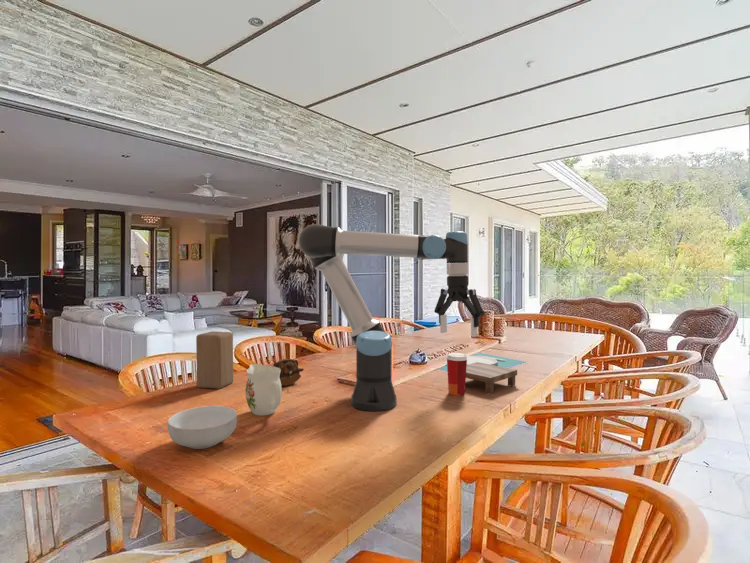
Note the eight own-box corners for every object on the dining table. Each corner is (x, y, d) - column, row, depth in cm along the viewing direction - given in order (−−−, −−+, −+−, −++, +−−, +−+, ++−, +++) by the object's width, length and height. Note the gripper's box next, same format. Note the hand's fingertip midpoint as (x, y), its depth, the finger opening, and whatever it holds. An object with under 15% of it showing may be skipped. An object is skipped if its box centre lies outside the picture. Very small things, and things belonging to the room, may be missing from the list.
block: (195, 388, 163) (195, 334, 163) (211, 381, 173) (211, 330, 172) (219, 389, 161) (218, 335, 160) (234, 382, 171) (233, 331, 170)
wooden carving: (272, 391, 159) (272, 364, 159) (264, 389, 162) (264, 362, 162) (305, 381, 172) (305, 356, 172) (297, 380, 175) (297, 355, 175)
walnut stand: (490, 394, 156) (490, 377, 156) (450, 384, 169) (450, 368, 169) (517, 385, 168) (517, 369, 168) (477, 376, 181) (477, 362, 181)
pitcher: (262, 425, 126) (262, 377, 125) (236, 409, 139) (236, 366, 139) (295, 416, 133) (295, 371, 132) (268, 402, 147) (267, 361, 146)
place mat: (469, 379, 180) (470, 373, 180) (418, 365, 204) (418, 361, 204) (531, 364, 208) (531, 359, 208) (479, 353, 232) (479, 349, 232)
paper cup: (466, 390, 161) (466, 352, 160) (468, 397, 153) (469, 357, 152) (444, 390, 161) (445, 352, 161) (446, 396, 154) (446, 356, 153)
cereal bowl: (158, 442, 114) (157, 415, 113) (219, 425, 125) (219, 401, 125) (183, 463, 101) (183, 433, 101) (249, 443, 113) (248, 416, 113)
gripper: (493, 274, 150) (494, 336, 150) (437, 274, 168) (438, 329, 169) (481, 275, 145) (482, 339, 145) (424, 275, 163) (425, 332, 164)
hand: (458, 334), depth 157 cm, fingers open, 13 cm apart
